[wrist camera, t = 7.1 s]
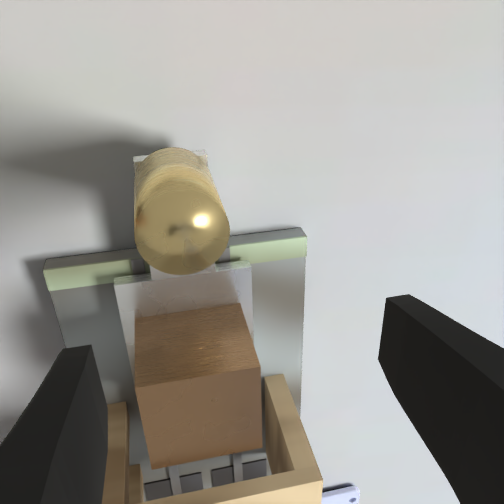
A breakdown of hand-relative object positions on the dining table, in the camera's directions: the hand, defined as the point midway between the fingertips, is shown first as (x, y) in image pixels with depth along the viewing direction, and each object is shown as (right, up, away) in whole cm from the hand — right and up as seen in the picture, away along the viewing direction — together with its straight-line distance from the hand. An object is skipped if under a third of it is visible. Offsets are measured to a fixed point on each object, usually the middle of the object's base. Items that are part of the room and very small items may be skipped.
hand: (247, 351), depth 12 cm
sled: (-3, +1, +9) cm, 9 cm away
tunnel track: (-3, -5, +14) cm, 15 cm away
